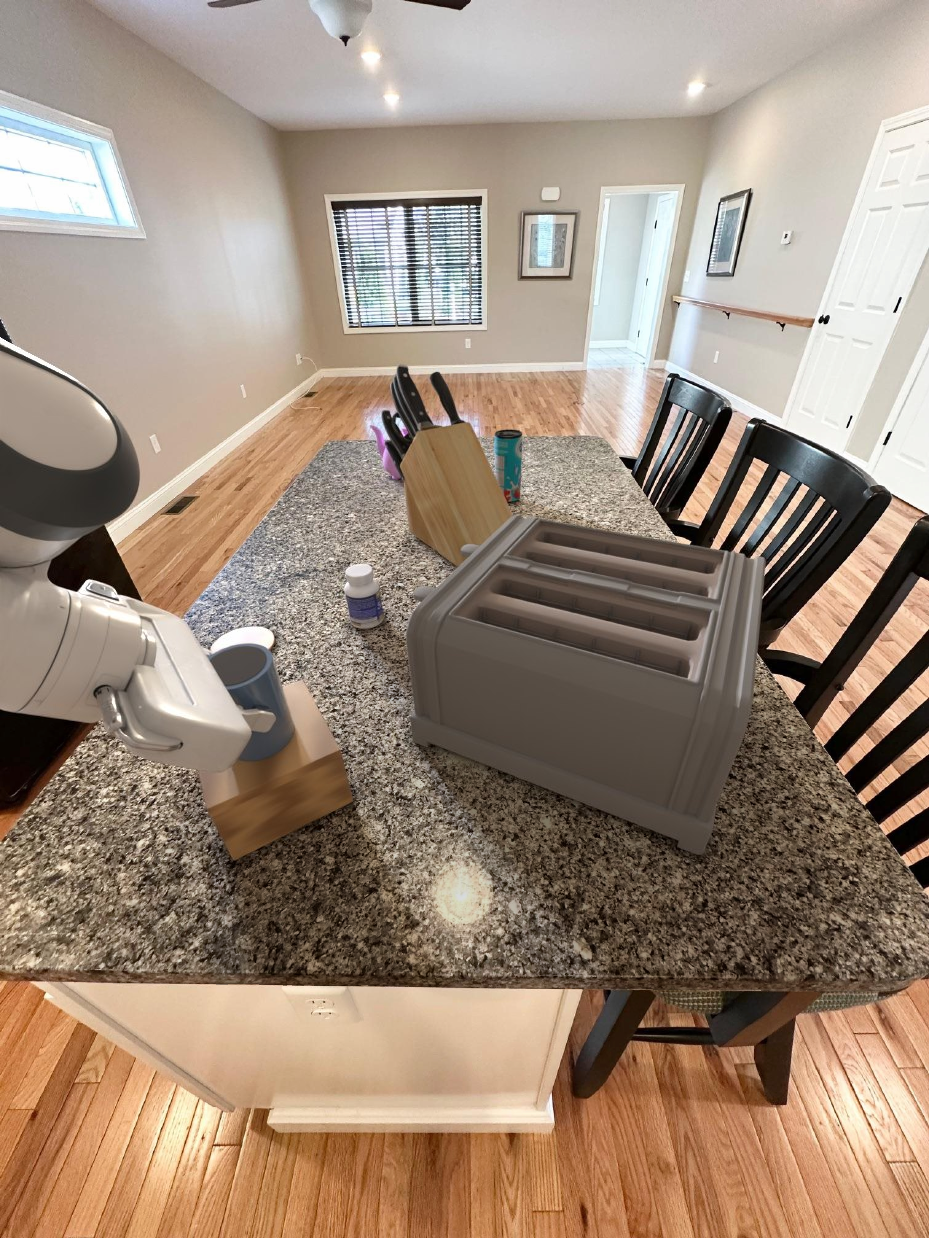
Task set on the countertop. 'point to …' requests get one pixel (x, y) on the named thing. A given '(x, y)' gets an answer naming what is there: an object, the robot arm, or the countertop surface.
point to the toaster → (593, 667)
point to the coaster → (245, 638)
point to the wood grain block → (279, 783)
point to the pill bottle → (363, 597)
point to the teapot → (387, 459)
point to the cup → (256, 694)
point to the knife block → (442, 472)
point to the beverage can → (509, 463)
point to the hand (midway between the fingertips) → (254, 696)
